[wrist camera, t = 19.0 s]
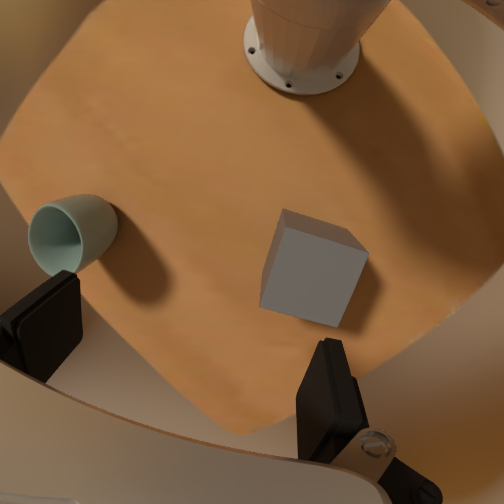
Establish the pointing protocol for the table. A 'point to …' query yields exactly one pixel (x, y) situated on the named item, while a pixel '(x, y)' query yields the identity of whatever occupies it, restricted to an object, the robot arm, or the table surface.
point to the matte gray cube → (311, 269)
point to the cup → (71, 232)
